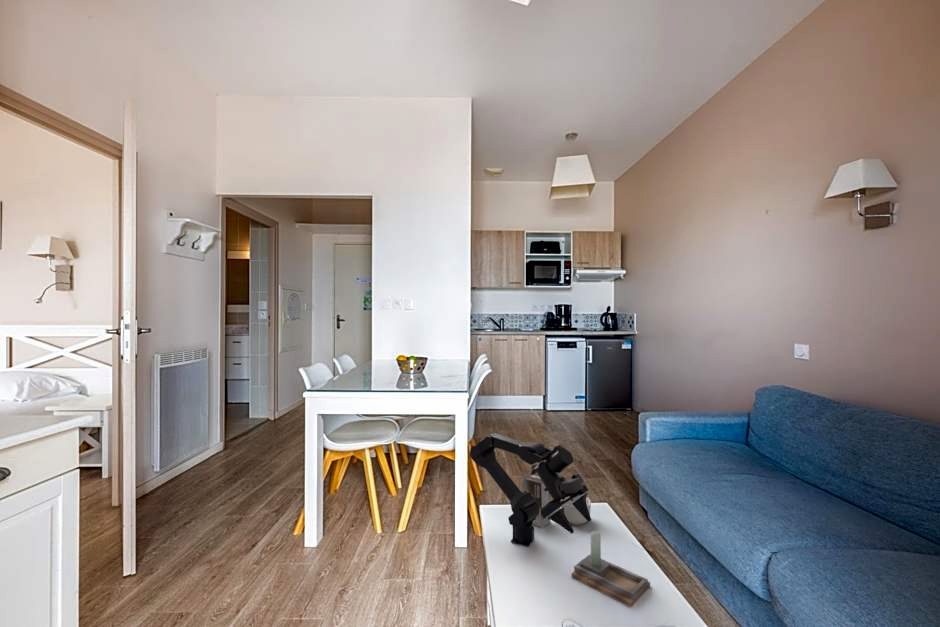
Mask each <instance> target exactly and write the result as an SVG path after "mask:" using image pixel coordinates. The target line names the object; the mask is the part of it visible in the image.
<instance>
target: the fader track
mask: <svg viewBox="0 0 940 627" xmlns="http://www.w3.org/2000/svg"><path fill="white" fill-rule="evenodd" d="M590 557H591V553H590V554H589V553H588V555H587V556H585V557H584V558H582V560H580V561H579V562H577V563H576V564H575V565H574V566H573V572H572V573H571V579H574V580H576V581H577V582H580V583H582V584H583V585H586V586H588V587H590V588H591V589H594V590H595V591H598V592H600V593H601V594H604V595H606V596H608V597H610V598H612V599H614V600H615V601H618V602H619V603H621V604H622V605H623V604H624V605H626V606H628V607H629V608H632V606H633V605H634V604H636V603H637V601H638V600H639V599H640V598H641V597H642V596H643V595H644V594H645V593H646V592H647V590H648V589H649V588H651V582H650V581H649V579H647V578H645V577H644V576H641V575H639V574H636V573H634V572H632V571H629V570H627V569H626V568H622V567H621V566H619V565H616V564H614V563H611V562H609V561H607V560H605V559H602V558H601V560H603V561H605V562H608V563H610V571H609V572H608V573H607V574H606V575H605V576H603V577H601V576H599V575H597V574H595V573H593V572H590V571H588V570H586V569H584V568H582V567H581V564H582V563H583V562H584V561H586V560H587V559H588V558H590Z"/></svg>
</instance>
